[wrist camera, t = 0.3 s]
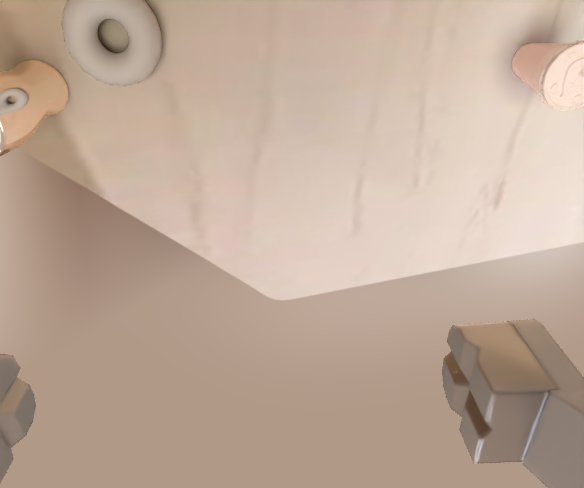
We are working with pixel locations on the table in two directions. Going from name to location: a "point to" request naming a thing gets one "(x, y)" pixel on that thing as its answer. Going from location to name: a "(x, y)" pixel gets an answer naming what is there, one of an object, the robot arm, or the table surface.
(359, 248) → the table surface
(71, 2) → the donut
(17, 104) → the beer glass
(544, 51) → the smoothie
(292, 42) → the table surface
